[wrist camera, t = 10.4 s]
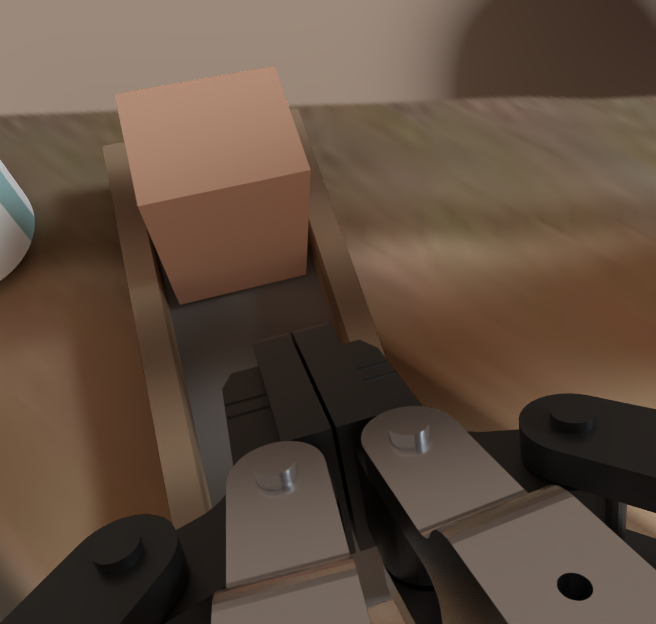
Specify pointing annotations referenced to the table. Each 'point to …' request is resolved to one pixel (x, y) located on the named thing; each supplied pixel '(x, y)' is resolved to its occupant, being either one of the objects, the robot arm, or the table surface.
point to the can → (13, 223)
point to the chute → (229, 344)
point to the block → (219, 181)
